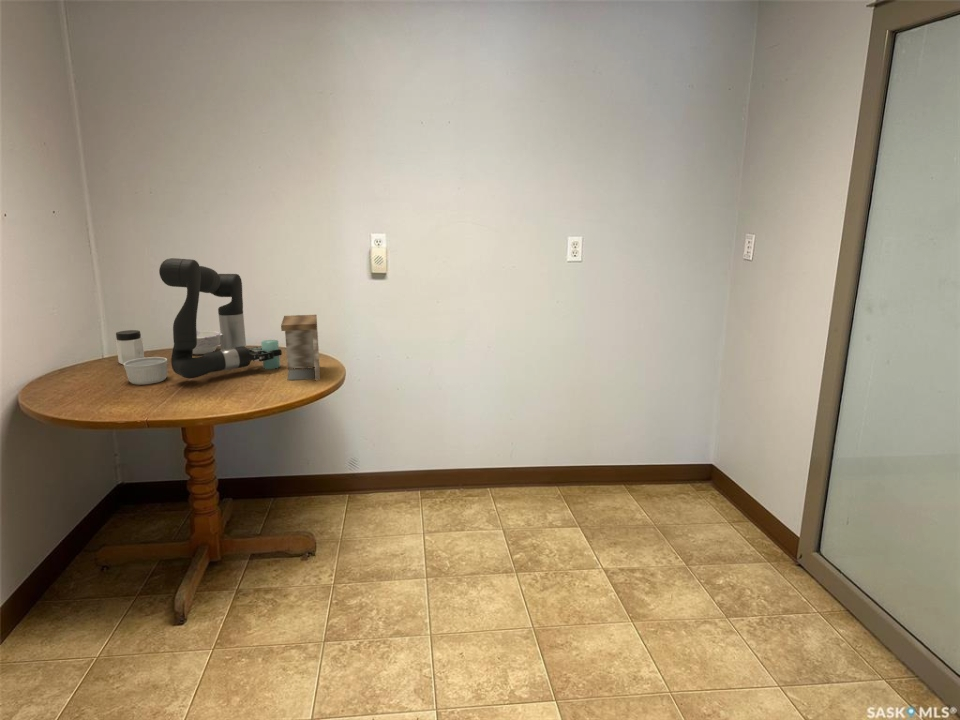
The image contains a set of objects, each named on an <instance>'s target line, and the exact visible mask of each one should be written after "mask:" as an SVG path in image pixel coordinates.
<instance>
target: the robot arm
mask: <svg viewBox="0 0 960 720" xmlns="http://www.w3.org/2000/svg"><path fill="white" fill-rule="evenodd" d="M159 277H160V279H161V280H162V282H163V283H164V284H165V285H167V286H169V287H175V288H186V292H187V293H186V298H185V300H184V303H183V304H182V307H181V308H180V310H179V312H177V314H176V316H175V319H174V320H173V324H172V332H173V333H172V336H173V347H172V353H171V358H170V360H171V361H170V363H171V369H172V370H173V372H174V373H175V374H177V375H178V376H181V377H183V378H185V379H195V378H200V377H202V376H205V375H208V374H210V373H215V372H220V371H229V370H230V371H231V370H235V369H241V368H246V367H248V366H250V364H251V361H253V362H258V361H259V362H263V361H265V360H269V359H274V356H279V357H280V356H282V354H283V352H282V349H278V350H272V351H265V350H262V346H261V347H258V346H255V347H249V348H248V347H247V340H246V329H245V317H244V301H243V300H244V299H243V282H242V278H241V276H240V275H239V274H237V273H218V272H217V271H216V270H215V269H213V268H210V267H207V266H203V265H200V264H199V262H198V261H197V260H196V259H188V258H174V257H173V258H167V259H165V260H163V261H162V262H161V264H160V266H159ZM200 293H206V294H211V295H213V296H215V297H218V298H231V301H230V302H228V303H227V304H224V305H221V306H219V307H218V309H217V311H218V312H217V313H218V323H219V333H220V345H219V346H220V350H215V351H214V352H209V353H205V354H202V356H196V357H193V354H192V353H193V349H194V348H195V347H196V346H197V331H198V329H197V319H198V318H197V317H198V307H199V301H200ZM262 352H263V354H262ZM268 355H269V356H268Z"/></svg>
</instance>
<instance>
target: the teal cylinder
mask: <svg viewBox="0 0 960 720" xmlns="http://www.w3.org/2000/svg"><path fill="white" fill-rule="evenodd" d="M260 343H261V348H262V350H265V351H272V350H278V349H279V348H280V347H279V345H280V344H279V340H277V339H267V340H262V341H261V342H260ZM262 354H263V352H262ZM268 356H269V355H268ZM262 367H263V369H264V368H265V369H264V370H276V369H275V368H277V369H279V368H278V367H280V368H281V361H280V356H274V359H269V360H265V361H262Z"/></svg>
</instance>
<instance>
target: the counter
mask: <svg viewBox="0 0 960 720" xmlns="http://www.w3.org/2000/svg"><path fill="white" fill-rule="evenodd" d="M317 315H318V314H300V315H299V314H297V315H294V314H293V315H283V318H282V321H281V325H280V326H281V327H280V329H281V332H284V334H285V337H284V338H285V346H286V349H285V350H286V360H287V365H286V366H287V370H294V369H295V368H302V369H309V368H308V367H315V368H314V380H316V381H320V380H321V376H320V375H321V373H320V371H321V370H320V368H321V367H320V349H319V334H318V333H319V332H318V318H317ZM293 368H294V369H293Z"/></svg>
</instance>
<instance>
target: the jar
mask: <svg viewBox="0 0 960 720" xmlns="http://www.w3.org/2000/svg"><path fill="white" fill-rule="evenodd" d="M141 334H142V333H141V331H140V330H138V329H137V330H136V329H130V330H129V329H128V330H120V331H117V332H115V344H116V351H117V359H118V363H119V364H121V365H123V366H124V363H125V362H127V361H130V360H134V359H139V358H146V357H145V351H144V343H143V338H142V335H141Z"/></svg>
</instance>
